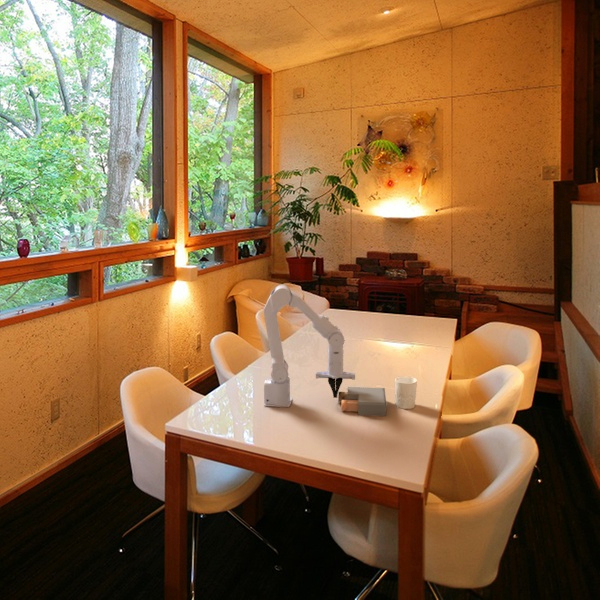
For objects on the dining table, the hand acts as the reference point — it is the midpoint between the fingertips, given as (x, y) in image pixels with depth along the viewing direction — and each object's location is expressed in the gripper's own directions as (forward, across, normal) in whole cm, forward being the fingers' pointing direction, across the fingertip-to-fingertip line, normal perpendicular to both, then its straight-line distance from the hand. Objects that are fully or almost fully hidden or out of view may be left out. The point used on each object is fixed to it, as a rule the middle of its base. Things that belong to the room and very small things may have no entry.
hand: (335, 396), depth 194 cm
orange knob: (+2, +8, -8) cm, 12 cm away
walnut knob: (+2, +7, 0) cm, 7 cm away
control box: (+2, +11, -4) cm, 12 cm away
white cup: (+2, +26, -1) cm, 26 cm away
